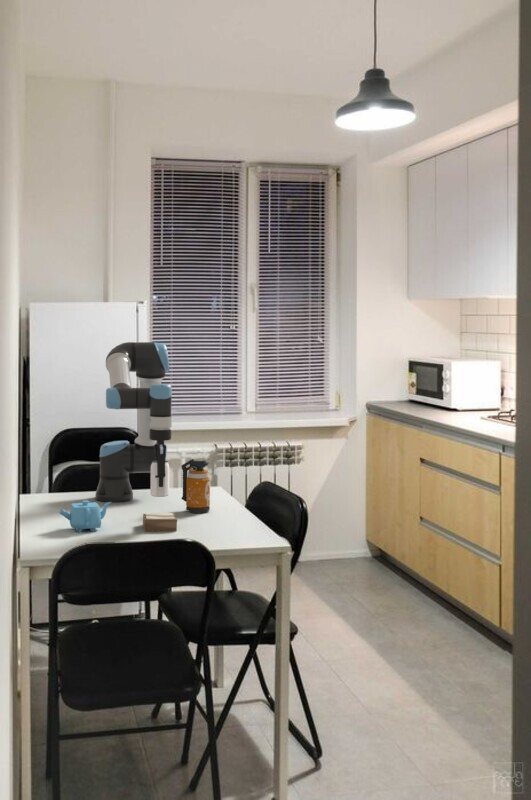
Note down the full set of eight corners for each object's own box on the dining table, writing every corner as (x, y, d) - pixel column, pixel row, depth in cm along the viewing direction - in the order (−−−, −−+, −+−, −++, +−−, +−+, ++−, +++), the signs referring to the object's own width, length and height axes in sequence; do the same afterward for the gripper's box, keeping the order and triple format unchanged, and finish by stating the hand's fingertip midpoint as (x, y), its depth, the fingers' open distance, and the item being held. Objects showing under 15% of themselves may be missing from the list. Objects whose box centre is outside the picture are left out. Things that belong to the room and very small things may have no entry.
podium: (142, 524, 321) (143, 512, 320) (173, 524, 323) (174, 512, 322) (144, 531, 310) (144, 519, 310) (176, 531, 312) (176, 518, 312)
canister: (206, 514, 340) (206, 461, 339) (177, 512, 342) (178, 460, 341) (212, 509, 349) (212, 458, 347) (184, 508, 351) (185, 457, 350)
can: (163, 493, 320) (163, 459, 319) (172, 495, 315) (172, 461, 314) (147, 494, 316) (147, 460, 315) (156, 497, 311) (156, 463, 310)
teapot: (61, 535, 303) (61, 505, 302) (56, 526, 316) (56, 497, 315) (115, 532, 309) (115, 502, 308) (107, 523, 322) (107, 495, 321)
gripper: (147, 425, 322) (147, 489, 324) (151, 431, 303) (150, 499, 305) (169, 425, 324) (168, 489, 326) (173, 431, 305) (173, 499, 307)
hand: (159, 494), depth 315 cm, fingers closed on can, 6 cm apart
